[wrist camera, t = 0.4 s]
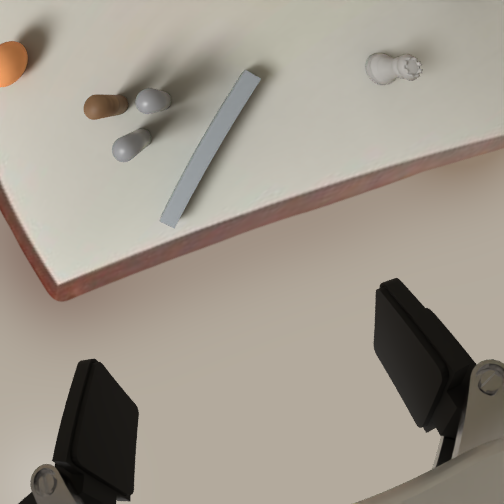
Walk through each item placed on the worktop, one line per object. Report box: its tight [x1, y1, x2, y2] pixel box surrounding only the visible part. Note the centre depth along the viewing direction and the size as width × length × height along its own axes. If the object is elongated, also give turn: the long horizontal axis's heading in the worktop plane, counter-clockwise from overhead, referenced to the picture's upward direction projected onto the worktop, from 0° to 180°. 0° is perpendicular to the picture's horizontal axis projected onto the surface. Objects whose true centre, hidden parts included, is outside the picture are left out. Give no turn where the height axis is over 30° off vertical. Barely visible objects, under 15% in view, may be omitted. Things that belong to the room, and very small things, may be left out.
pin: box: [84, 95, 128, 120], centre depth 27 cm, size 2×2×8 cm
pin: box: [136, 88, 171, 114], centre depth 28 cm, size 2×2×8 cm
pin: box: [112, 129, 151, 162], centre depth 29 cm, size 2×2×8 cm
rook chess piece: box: [366, 53, 423, 85], centre depth 29 cm, size 4×4×8 cm
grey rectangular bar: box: [160, 70, 261, 228], centre depth 34 cm, size 20×2×2 cm, turn 149°
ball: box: [0, 41, 28, 87], centre depth 22 cm, size 6×6×6 cm
